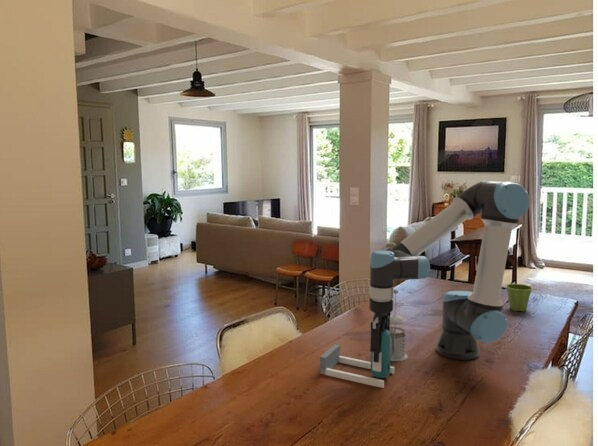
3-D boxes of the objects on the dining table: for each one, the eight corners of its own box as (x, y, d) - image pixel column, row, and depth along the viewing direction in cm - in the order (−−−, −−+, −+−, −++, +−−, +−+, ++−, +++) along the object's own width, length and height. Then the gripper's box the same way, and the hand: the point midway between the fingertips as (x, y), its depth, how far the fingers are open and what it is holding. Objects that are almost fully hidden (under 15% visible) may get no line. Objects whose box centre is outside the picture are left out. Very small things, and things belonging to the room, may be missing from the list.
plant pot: (532, 308, 228) (534, 285, 226) (529, 314, 218) (531, 291, 216) (506, 304, 234) (507, 282, 232) (502, 310, 224) (503, 287, 222)
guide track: (394, 372, 159) (394, 355, 158) (382, 388, 148) (383, 370, 147) (334, 360, 169) (335, 344, 169) (320, 373, 158) (320, 356, 158)
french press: (409, 352, 176) (410, 287, 173) (405, 364, 165) (407, 296, 162) (382, 348, 179) (384, 285, 176) (377, 361, 168) (378, 293, 165)
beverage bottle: (390, 383, 151) (391, 323, 149) (369, 381, 153) (370, 322, 150) (390, 374, 158) (391, 317, 155) (370, 372, 159) (371, 315, 157)
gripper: (379, 290, 161) (377, 355, 164) (360, 304, 145) (359, 375, 148) (400, 293, 158) (398, 359, 161) (383, 307, 142) (382, 380, 144)
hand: (379, 366), depth 154 cm, fingers closed on beverage bottle, 5 cm apart
